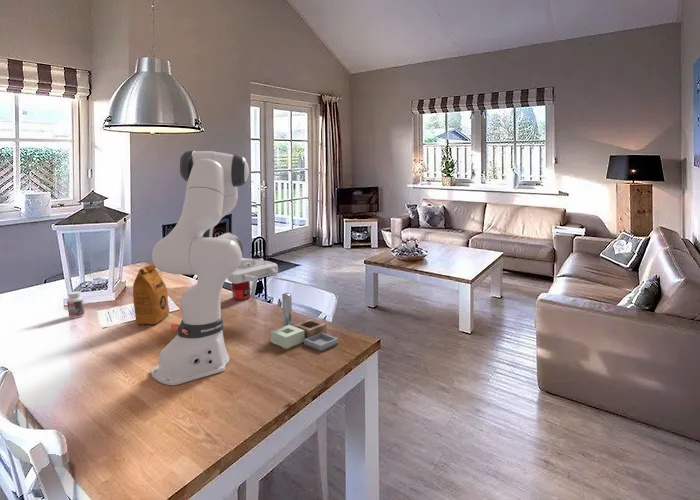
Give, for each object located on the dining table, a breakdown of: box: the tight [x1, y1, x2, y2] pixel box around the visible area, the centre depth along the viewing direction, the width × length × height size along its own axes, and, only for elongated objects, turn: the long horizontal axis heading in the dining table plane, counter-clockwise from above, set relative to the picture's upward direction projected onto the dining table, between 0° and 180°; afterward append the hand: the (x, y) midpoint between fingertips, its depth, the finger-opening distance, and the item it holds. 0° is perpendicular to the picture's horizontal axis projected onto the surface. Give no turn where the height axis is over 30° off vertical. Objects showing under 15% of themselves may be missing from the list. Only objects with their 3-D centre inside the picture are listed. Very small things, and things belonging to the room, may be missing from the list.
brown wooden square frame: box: [293, 318, 328, 339], centre depth 160 cm, size 8×8×4 cm
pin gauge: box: [281, 292, 293, 327], centre depth 162 cm, size 3×3×14 cm
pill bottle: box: [66, 290, 86, 319], centre depth 180 cm, size 5×5×10 cm
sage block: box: [270, 325, 305, 350], centre depth 154 cm, size 8×8×4 cm
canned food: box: [231, 281, 252, 302], centre depth 201 cm, size 8×8×11 cm
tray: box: [303, 332, 339, 352], centre depth 152 cm, size 8×8×2 cm
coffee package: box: [132, 262, 170, 326], centre depth 173 cm, size 10×12×22 cm
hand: (265, 276), depth 168 cm, fingers open, 8 cm apart
